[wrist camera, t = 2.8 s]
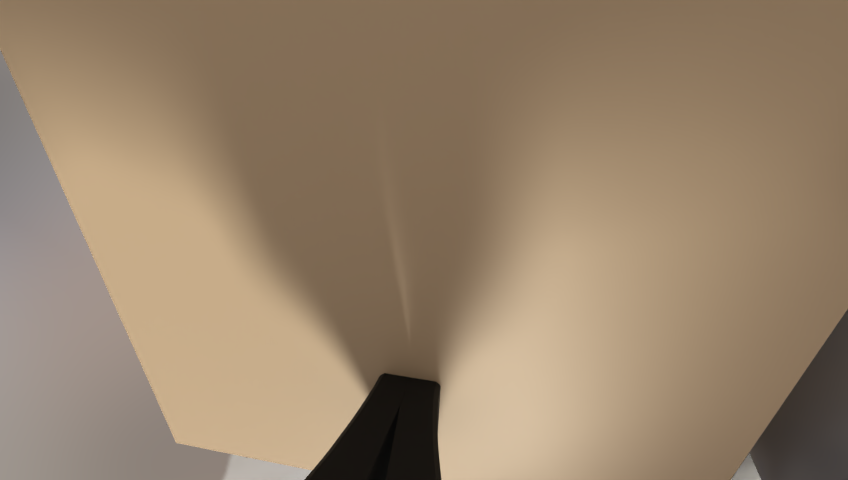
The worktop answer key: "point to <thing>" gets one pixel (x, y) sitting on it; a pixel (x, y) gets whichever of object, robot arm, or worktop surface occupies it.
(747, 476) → the worktop surface
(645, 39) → the lid
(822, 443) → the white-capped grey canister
